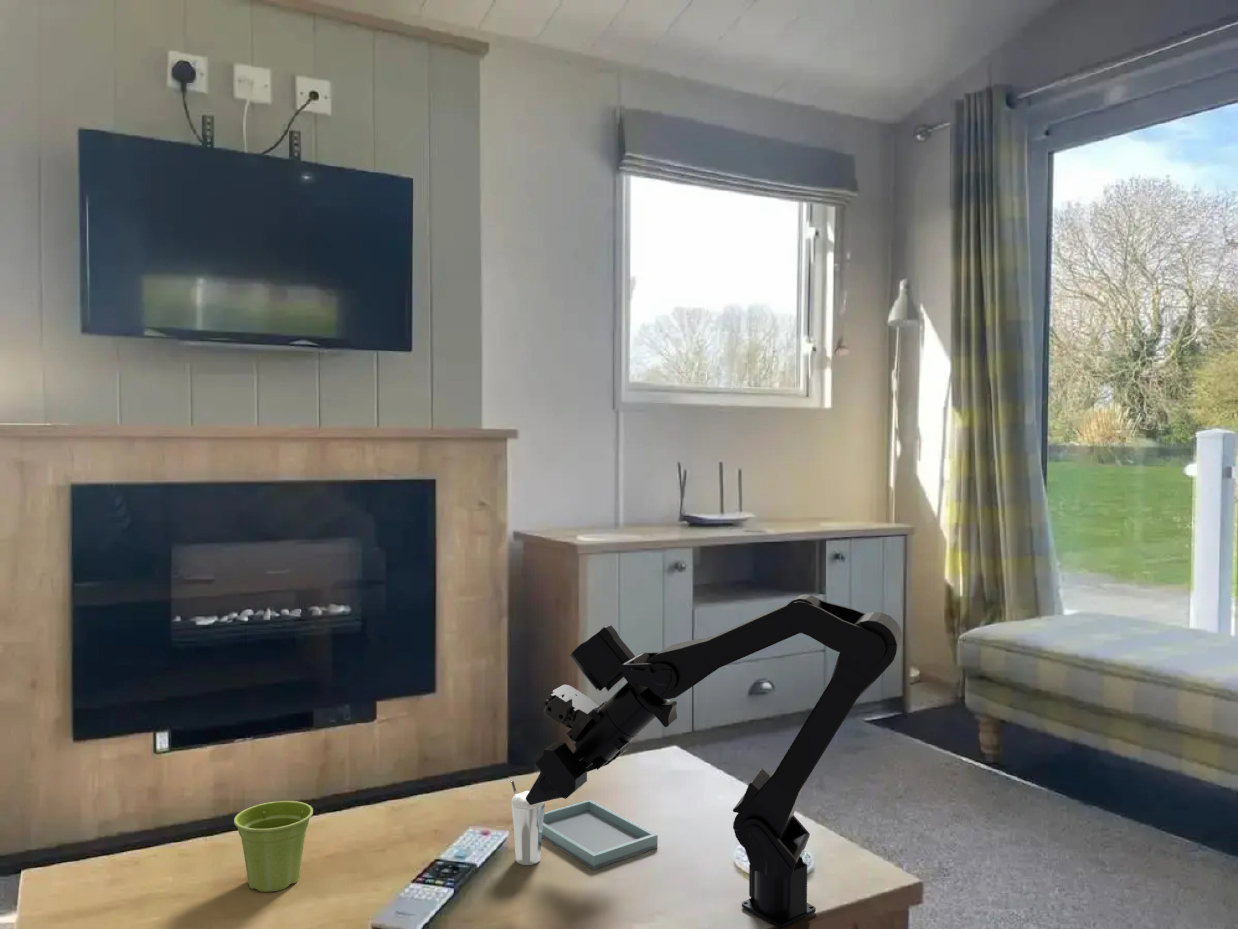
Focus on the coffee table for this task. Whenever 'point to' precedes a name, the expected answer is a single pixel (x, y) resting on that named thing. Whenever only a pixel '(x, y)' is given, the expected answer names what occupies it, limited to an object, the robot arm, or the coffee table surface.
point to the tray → (596, 834)
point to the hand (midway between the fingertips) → (544, 789)
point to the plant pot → (273, 842)
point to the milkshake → (527, 828)
